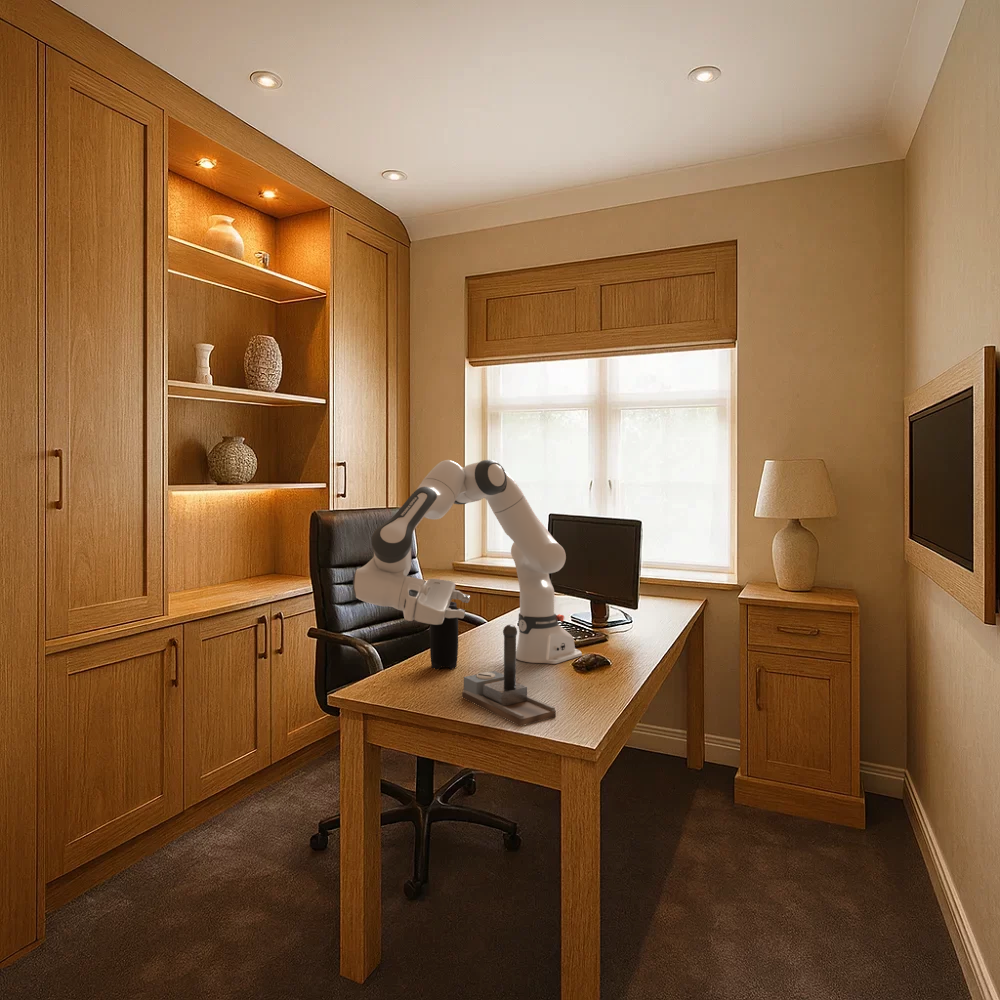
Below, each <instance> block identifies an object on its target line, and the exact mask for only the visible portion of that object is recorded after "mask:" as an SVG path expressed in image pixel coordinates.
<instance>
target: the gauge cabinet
mask: <svg viewBox="0 0 1000 1000" xmlns="http://www.w3.org/2000/svg"><path fill="white" fill-rule="evenodd" d="M503 680H504V673H501V672H498V671H496V670H491V671H484V672H478V673H476V674H472V675H467V676H463V689H465V690H467V691H469V692H471V693H474V694H476V695H478V694H479V695H481V696H483V685H484V684H487V683H492V682H497V681H503Z"/></svg>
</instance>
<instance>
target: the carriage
mask: <svg viewBox="0 0 1000 1000" xmlns="http://www.w3.org/2000/svg"><path fill="white" fill-rule="evenodd" d="M502 635H503V638H504V639H503V674H504V680H503V681H498V682H493V683H488V684H484V685H483V697H485V698H487V699H489V700H492V701H494V702H496V703H498V704H500V705H502V706H506V705H511V704H515V703H519V702H523V701H527V696H528V686H526V685H524V684H521V683H518V682H517V680H516V678H517V659H516V649H517V635H518V630H517V627H516V626H515V625H513V624H507V625H505V626H504V627H503V629H502Z"/></svg>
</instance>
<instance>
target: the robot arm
mask: <svg viewBox="0 0 1000 1000" xmlns="http://www.w3.org/2000/svg"><path fill="white" fill-rule="evenodd" d="M483 499H485V500H487V502H488V505H489V507H490V509H491V510H492V512H493V514H494V516H495V518H496V519H497V521H498V523H499V524H500V526H501V528H502V529H503V531H504V533H505V535H507V536H508V537H509V538H510V539H511V541H512V542H513V543H512V544H511V549H510V555H511V558H512V559H513V561H514V564H515V569H516V574H517V575H516V576H517V580H518V586H519V613H518V622H517V623H518V639H517V643H516V660H517V661H519V662H520V661H521V662H526V663H533V664H552V665H555V664H559V663H562V662H566V661H568V660H572V659H575V658H578V657H581V656H583V653H582V651H581V650H580V649H577V648H576V647H575V646H576V645H575V640H574V636H572V634H570V632H568V631H567V630H565V629H564V627H562V626H561V625H559V621H560V622H564V621H565V616H564V615H563V614H560V613H559V614H556V613H555V589H554V586H553V584H552V581H551V578H550V574H554V573H556V572H557V573H558V572H559V571H560V570H561V569H562V568H564V566H565V563H566V559H567V556H566V555H567V554H566V551H565V549H564V547H563V546H562V545H561V544H559V542H557V540H556V539H555V538H554V537H553V535H552V534H551V533H550V532H549V530H548V529H547V527H545V525H544V524H543V523H542V522H541V521H540V520H539V518H538V516H537V515H536V514H535V512H534V510H533V509H532V507H531V505H530V503H529V502H528V500H527V499H526V496H525V494H524V493H523V491H522V490H521V488H520V486H519V485H518V483H517V482H516V481H515V480H514V478H513V477H512V476H511V475H510V473H509V472H507V471H505V469H504V467H503V466H502V465H501V464H500V463H499V462H498V461H496V460H493V459H484V460H481V461H478V462H474V463H471V464H467V465H465V466H464V467H462V466H461V465H460V464H459V463H457V462H455V461H454V460H450V459H445V460H442V461H440V462H438V463H436V465H435V466H434V467H432V469H431V470H430V471H429V472H428V473H427V475H426V476H425V477H424V478H423V479H422V481H421V482H420V483H419V485H418V486H417V488H416V490H414V491H413V493H411V495H410V496H409V497H408V498H407V500H405V501H404V503H403V504H402V506H401V507H400V508H399V509H398V510H397V511H396V513H395V514H394V515H393V516H392V517H391V518H389V519H388V520H387V521H385V522H384V523H381V525H379V526H378V527H377V528H376V529H375V530H374V531H373V533H372V536H371V547H372V551H373V556H372V558H371V559H370V560H369V561H368V562H367V563H366V564H364V565H363V566H361V567H359V568H357V569H356V570H355V572H354V573H353V580H352V592H353V594H354V597H355V598H356V599H358V600H359V601H362V602H364V603H367V604H371V605H375V606H379V607H392V608H394V609H395V610H398V611H401V612H402V613H403V617H404V620H405V621H409V622H413V621H415V622H419V623H423V624H428V625H430V624H433V625H439V624H442V623H443V620H444V618H456V617H457V618H458V619H464V617H465V613H466V610H465V609H463V608H457V610H452V609H451V608H448V607H449V605H450V602H452V600H459V601H461V603H465V604H468V603H469V602H470V598H471V595H470V594H467V593H463V591H460V590H458V589H456V583H455V581H454V582H453V581H451V580H445V579H440V578H429V579H427V580H425V579H422V578H418V577H413V576H408V575H409V572H410V571H411V569H412V544H413V543H412V542H413V541H412V540H413V534H414V531H415V530H416V528H417V527H418V525H419V524H421V522H422V521H423V519H424V518H425V519H429V520H440V519H442V518H443V517H445V516H446V514H447V513H448V512H449V511H450V510H451V508H452V507H453V505H466V504H468V503H474V502H479V501H481V500H483Z"/></svg>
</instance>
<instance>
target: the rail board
mask: <svg viewBox="0 0 1000 1000" xmlns="http://www.w3.org/2000/svg"><path fill="white" fill-rule="evenodd" d="M461 694H462V695H461V698H462V697H463V698H465V699H467V700H466V701H468V700H469V701H468V702H470V701H471V702H470V703H472V702H473V703H472V704H474V703H475V704H474V705H476V704H477V705H476V706H478V705H479V706H478V707H480V706H481V707H480V708H482V707H483V709H484V708H485V709H484V710H486V709H487V710H486V711H488V710H489V712H490V711H491V713H492V712H493V713H492V714H494V713H495V715H496V714H497V715H496V716H498V715H499V716H498V717H500V716H501V717H500V718H503V719H505V718H506V719H505V720H507V719H508V720H507V721H509V720H510V721H509V722H511V721H512V722H511V723H513V722H514V723H513V724H515V725H518V726H519V727H521V725H522V726H526V725H529V724H533V723H537V722H540V721H544V720H548V719H551V718H556V716H557V714H556V713H557V712H556V708H555V706H553V705H550V704H547V703H546V702H543V701H540V700H538V699H536V698H534V697H531V696H530V695H529V696H528V695H527V701H523V702H519V703H515V704H511V705H506V706H502V705H500V704H498V703H496V702H494V701H492V700H489V699H487V698H485V697H483V696H481V695H479V694H478V695H476V694H474V693H471V692H469V691H467V690H465V689H464V688H463V689H462V692H461ZM463 698H462V699H463ZM465 699H464V700H465ZM525 724H526V725H525Z"/></svg>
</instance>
